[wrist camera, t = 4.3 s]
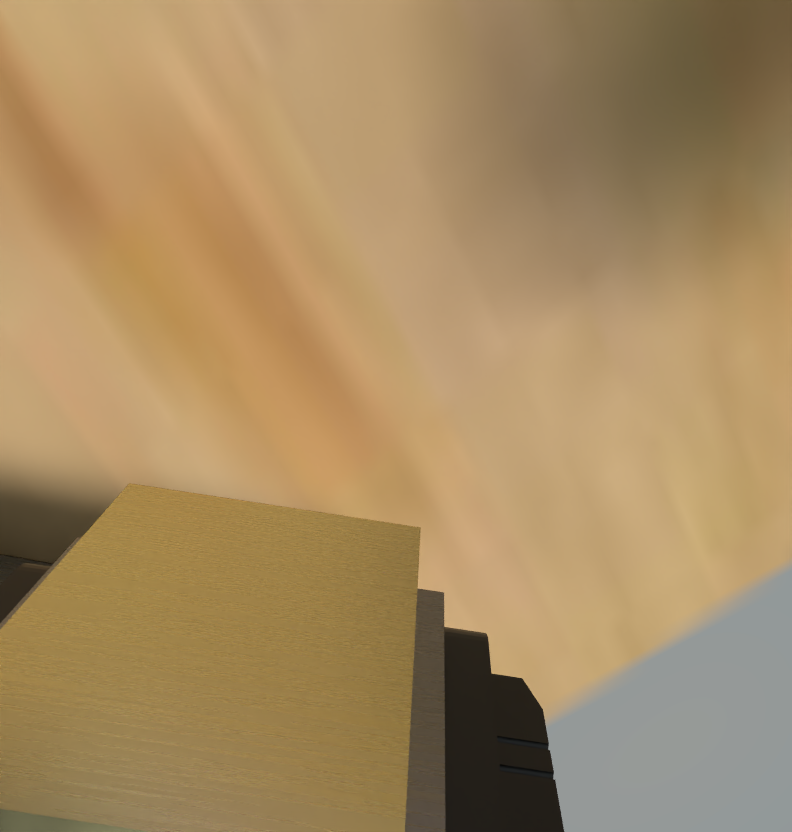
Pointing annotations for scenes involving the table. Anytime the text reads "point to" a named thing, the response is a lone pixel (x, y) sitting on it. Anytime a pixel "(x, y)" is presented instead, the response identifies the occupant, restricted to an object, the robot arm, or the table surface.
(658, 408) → the table surface
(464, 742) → the robot arm
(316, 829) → the brushed gold cube
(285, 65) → the table surface
